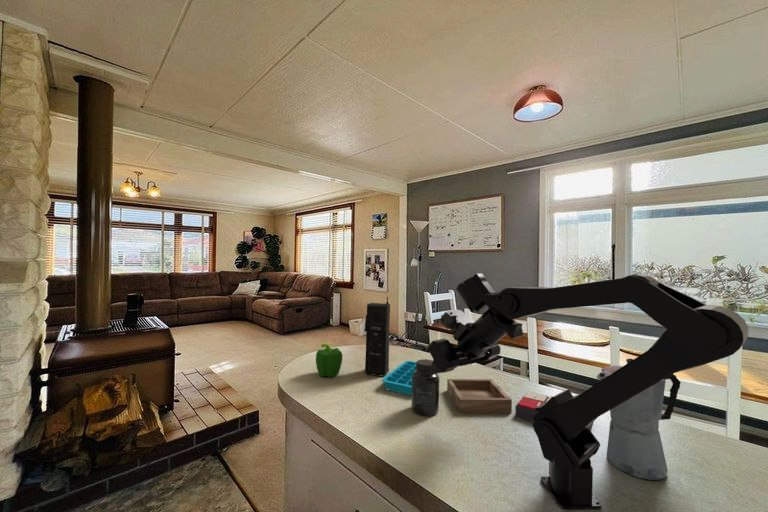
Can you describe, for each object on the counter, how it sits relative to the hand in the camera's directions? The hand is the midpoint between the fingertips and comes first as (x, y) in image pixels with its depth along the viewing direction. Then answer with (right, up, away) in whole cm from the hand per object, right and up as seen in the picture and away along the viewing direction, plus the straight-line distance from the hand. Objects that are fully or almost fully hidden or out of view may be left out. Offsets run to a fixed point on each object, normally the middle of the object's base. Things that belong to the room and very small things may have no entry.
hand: (445, 368), depth 73 cm
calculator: (+27, -14, +2) cm, 30 cm away
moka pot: (+33, -13, -14) cm, 39 cm away
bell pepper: (-32, -12, +27) cm, 44 cm away
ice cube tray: (-6, -13, +23) cm, 27 cm away
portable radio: (-17, -12, +30) cm, 36 cm away
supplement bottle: (-4, -13, +5) cm, 14 cm away
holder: (+11, -13, +11) cm, 20 cm away
